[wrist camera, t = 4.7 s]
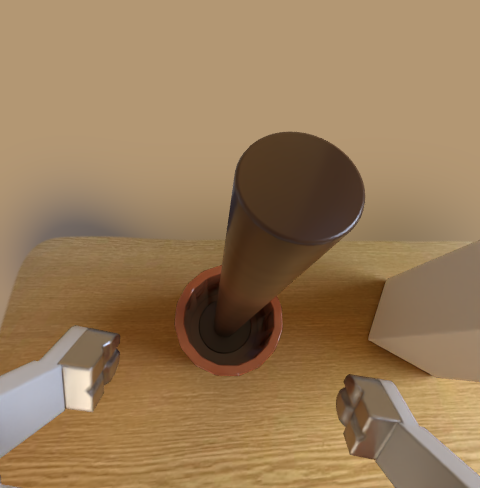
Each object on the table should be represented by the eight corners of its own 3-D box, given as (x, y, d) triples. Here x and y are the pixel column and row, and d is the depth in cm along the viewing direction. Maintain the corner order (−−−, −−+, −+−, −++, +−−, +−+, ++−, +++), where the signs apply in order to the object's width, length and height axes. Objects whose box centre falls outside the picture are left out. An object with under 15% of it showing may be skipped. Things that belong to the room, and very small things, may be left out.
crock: (170, 347, 24) (153, 345, 17) (207, 277, 27) (205, 249, 20) (243, 383, 24) (258, 396, 16) (272, 308, 26) (296, 290, 19)
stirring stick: (190, 339, 24) (65, 246, 3) (212, 293, 26) (227, 42, 5) (236, 362, 24) (431, 421, 3) (256, 314, 25) (464, 137, 5)
